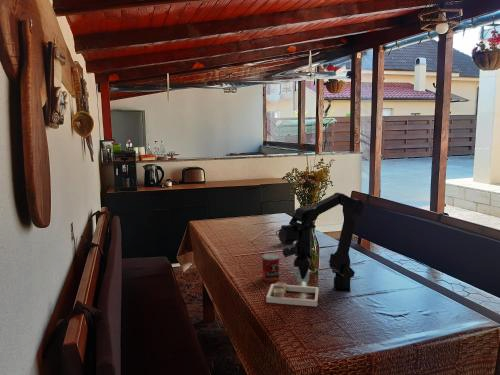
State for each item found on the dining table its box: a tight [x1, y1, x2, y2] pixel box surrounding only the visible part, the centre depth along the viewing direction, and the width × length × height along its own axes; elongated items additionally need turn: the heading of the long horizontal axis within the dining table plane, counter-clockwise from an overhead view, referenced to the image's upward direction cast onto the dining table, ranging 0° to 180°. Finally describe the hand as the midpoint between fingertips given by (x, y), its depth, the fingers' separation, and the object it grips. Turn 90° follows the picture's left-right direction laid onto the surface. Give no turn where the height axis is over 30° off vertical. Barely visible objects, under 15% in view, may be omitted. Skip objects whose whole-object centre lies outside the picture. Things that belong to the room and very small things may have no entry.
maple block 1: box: [275, 281, 288, 296], centre depth 173 cm, size 4×4×4 cm
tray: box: [265, 283, 319, 307], centre depth 169 cm, size 20×14×2 cm
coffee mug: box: [275, 229, 295, 246], centre depth 245 cm, size 12×9×10 cm
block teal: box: [296, 267, 310, 283], centre depth 167 cm, size 4×4×4 cm
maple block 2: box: [273, 289, 285, 298], centre depth 167 cm, size 4×4×4 cm
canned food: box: [262, 253, 280, 283], centre depth 188 cm, size 8×8×11 cm
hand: (303, 276), depth 167 cm, fingers closed on block teal, 4 cm apart
